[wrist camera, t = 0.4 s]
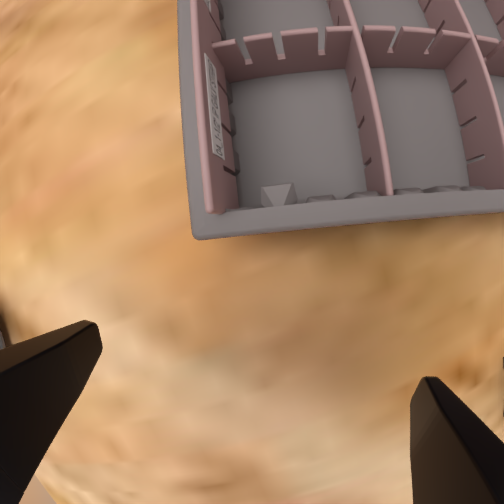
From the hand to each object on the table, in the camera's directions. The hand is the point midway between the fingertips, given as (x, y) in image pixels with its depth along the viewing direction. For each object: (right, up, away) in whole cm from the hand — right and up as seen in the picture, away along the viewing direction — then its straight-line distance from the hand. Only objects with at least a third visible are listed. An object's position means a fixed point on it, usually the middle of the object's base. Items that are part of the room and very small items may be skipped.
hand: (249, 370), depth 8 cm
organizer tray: (+16, +22, +11) cm, 30 cm away
